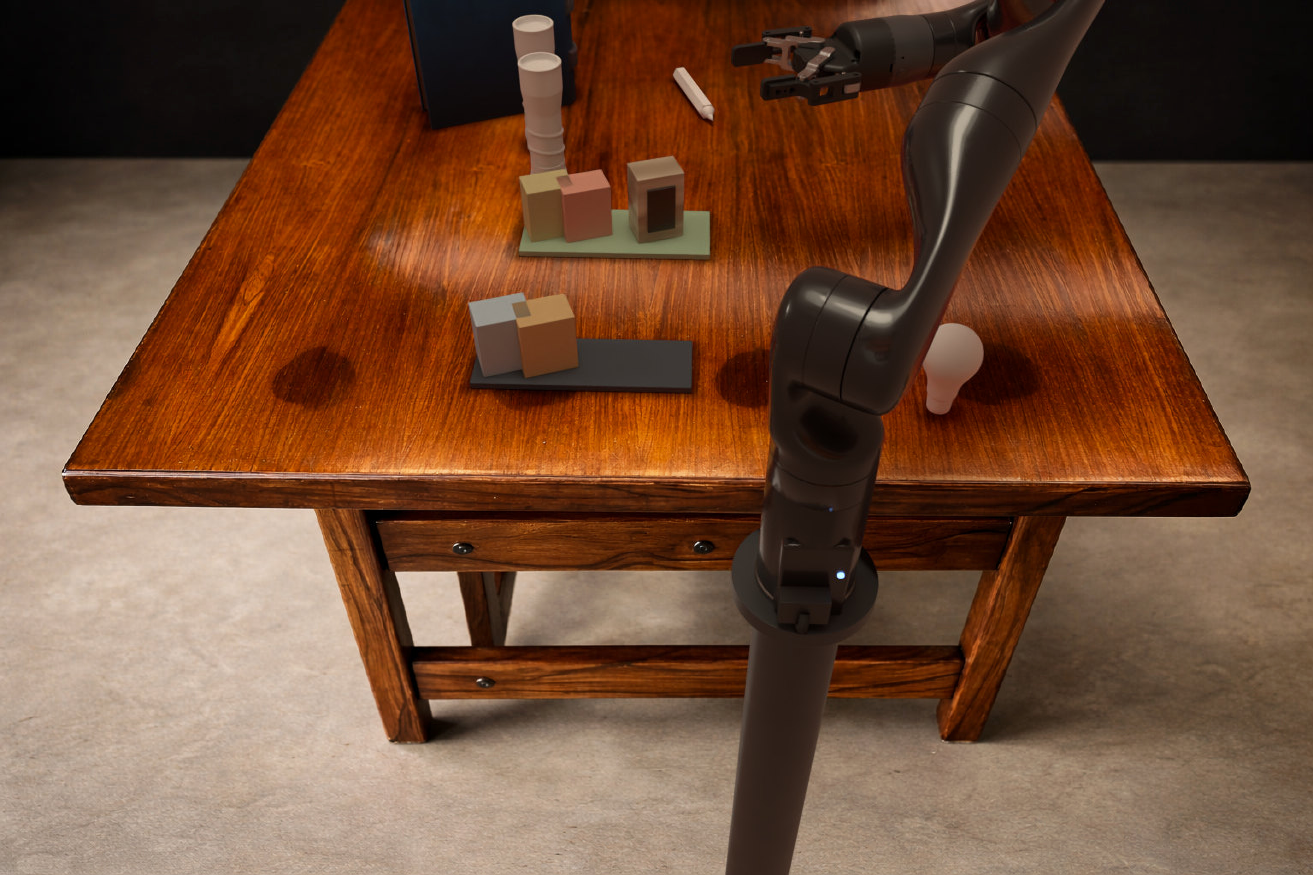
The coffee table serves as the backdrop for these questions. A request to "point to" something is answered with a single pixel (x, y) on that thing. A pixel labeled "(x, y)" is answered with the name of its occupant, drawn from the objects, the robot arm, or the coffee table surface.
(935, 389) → the lightbulb
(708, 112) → the marker
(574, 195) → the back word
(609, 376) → the blocks on base plate
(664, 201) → the tall taupe block
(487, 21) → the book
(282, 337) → the coffee table surface
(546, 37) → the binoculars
